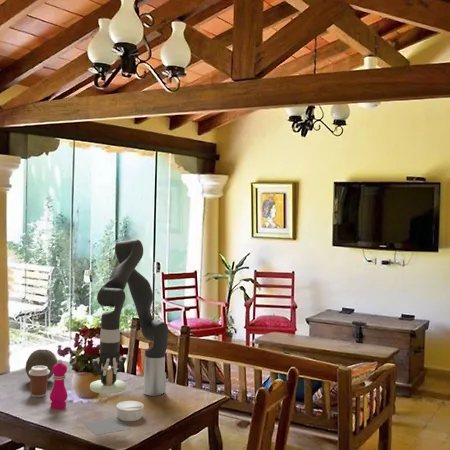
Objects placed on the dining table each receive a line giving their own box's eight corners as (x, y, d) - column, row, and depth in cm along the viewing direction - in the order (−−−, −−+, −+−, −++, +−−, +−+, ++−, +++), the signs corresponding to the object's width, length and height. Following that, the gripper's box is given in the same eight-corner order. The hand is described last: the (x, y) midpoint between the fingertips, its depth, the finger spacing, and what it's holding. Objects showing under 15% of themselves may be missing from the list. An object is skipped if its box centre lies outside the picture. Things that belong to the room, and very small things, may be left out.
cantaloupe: (51, 386, 279) (52, 354, 278) (20, 385, 279) (21, 353, 279) (60, 377, 293) (61, 347, 293) (31, 376, 293) (32, 345, 293)
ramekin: (131, 425, 237) (131, 412, 237) (109, 418, 243) (110, 405, 243) (149, 417, 247) (149, 404, 246) (128, 411, 253) (128, 398, 252)
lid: (118, 380, 243) (119, 362, 243) (132, 390, 232) (133, 372, 231) (84, 384, 236) (85, 366, 236) (97, 395, 224) (98, 376, 224)
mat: (116, 417, 244) (116, 416, 244) (130, 429, 232) (130, 428, 232) (82, 423, 236) (82, 422, 236) (95, 436, 225) (95, 435, 225)
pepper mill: (62, 410, 249) (63, 362, 248) (46, 408, 251) (47, 361, 250) (70, 405, 256) (71, 358, 255) (54, 403, 258) (56, 356, 257)
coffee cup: (51, 391, 273) (52, 365, 272) (46, 398, 263) (47, 371, 263) (31, 390, 272) (32, 364, 272) (25, 397, 263) (26, 370, 263)
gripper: (123, 336, 240) (121, 378, 241) (89, 339, 232) (87, 383, 233) (130, 340, 234) (129, 384, 234) (95, 343, 226) (94, 389, 227)
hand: (108, 383), depth 234 cm, fingers closed on lid, 3 cm apart
